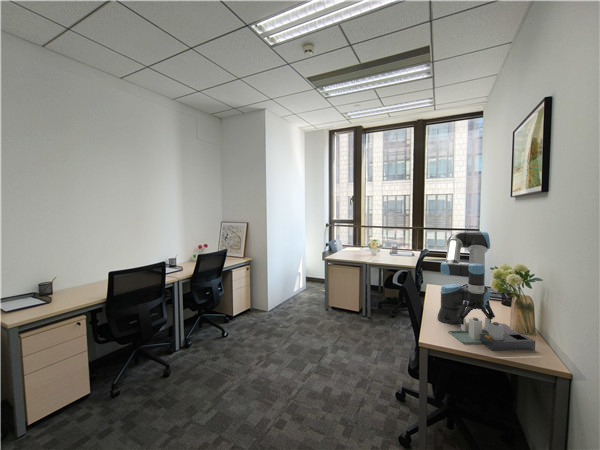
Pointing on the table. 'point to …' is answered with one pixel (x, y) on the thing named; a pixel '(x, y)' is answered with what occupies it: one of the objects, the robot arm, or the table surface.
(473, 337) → the plug
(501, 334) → the twin plug
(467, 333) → the tray
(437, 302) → the table surface
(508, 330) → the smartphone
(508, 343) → the strip
